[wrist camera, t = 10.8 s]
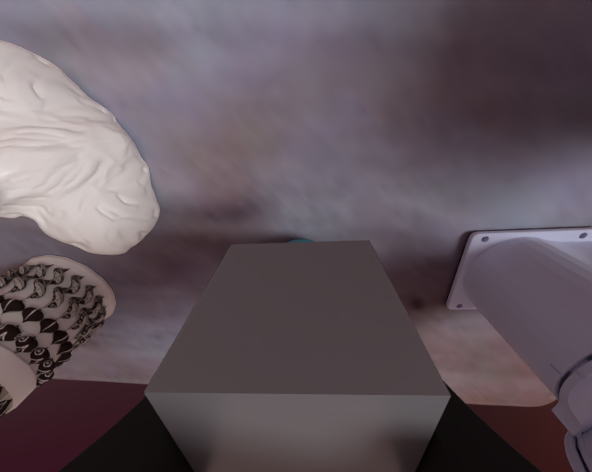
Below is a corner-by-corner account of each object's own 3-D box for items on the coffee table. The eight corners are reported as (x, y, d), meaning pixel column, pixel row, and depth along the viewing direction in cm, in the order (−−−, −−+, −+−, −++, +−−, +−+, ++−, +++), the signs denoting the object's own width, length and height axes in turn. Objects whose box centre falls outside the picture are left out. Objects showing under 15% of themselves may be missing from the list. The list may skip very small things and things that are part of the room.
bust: (60, 66, 15) (-279, 106, 9) (56, -16, 10) (-789, -66, 4) (168, 217, 21) (3, 311, 14) (203, 215, 15) (-36, 365, 9)
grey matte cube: (369, 240, 10) (450, 395, 5) (358, 336, 13) (399, 504, 8) (231, 244, 11) (143, 392, 5) (250, 336, 14) (210, 497, 8)
